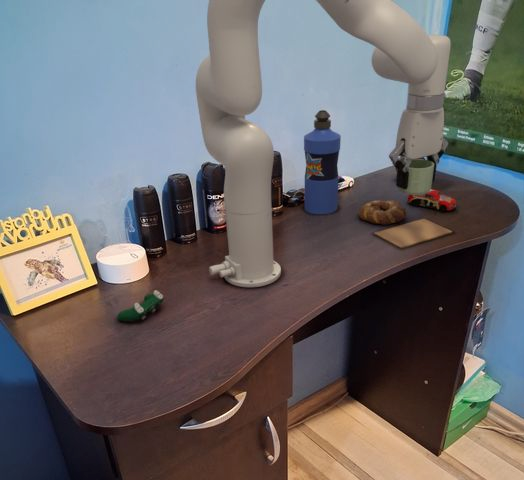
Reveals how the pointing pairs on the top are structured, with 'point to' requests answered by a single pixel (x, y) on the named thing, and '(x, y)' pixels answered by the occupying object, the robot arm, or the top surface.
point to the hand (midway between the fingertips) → (415, 183)
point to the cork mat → (412, 233)
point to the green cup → (419, 177)
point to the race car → (433, 200)
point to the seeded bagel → (382, 212)
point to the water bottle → (321, 166)
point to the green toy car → (142, 307)
